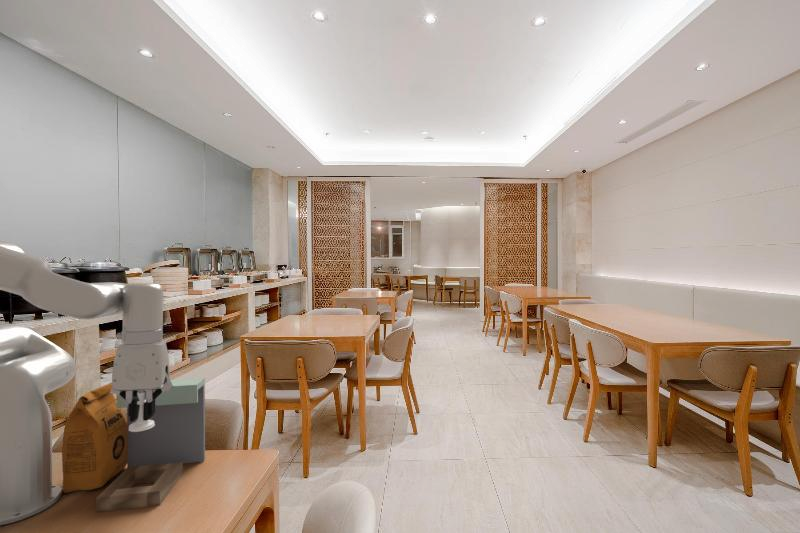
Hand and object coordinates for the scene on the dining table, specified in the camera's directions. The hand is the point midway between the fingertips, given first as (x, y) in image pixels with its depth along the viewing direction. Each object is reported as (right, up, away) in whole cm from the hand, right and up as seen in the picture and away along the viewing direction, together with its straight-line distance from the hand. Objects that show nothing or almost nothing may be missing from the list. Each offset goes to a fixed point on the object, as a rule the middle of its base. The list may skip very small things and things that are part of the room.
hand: (141, 417), depth 83 cm
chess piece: (0, -2, 0) cm, 2 cm away
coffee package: (-14, -17, +5) cm, 23 cm away
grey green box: (-1, -17, +10) cm, 20 cm away
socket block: (0, -17, 0) cm, 17 cm away
